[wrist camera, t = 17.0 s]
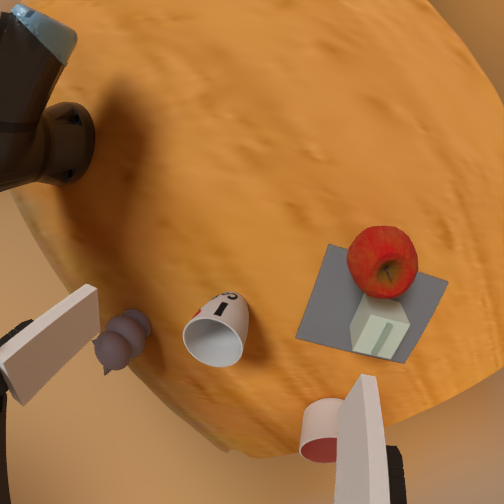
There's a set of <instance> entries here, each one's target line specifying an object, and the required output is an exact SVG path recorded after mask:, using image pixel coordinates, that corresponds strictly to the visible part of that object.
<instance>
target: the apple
mask: <svg viewBox="0 0 504 504" xmlns="http://www.w3.org/2000/svg"><path fill="white" fill-rule="evenodd" d="M347 265H348V268H349V271H350V274H351V276H352V278H353V280H354V282H355V283H356V285H357V286H358V287H359V288H360V289H361V290H362V291H363V292H364V293H365V294H367V295H368V296H371V297H374V298H379V299H390V298H396V297H398V296H400V295H402V294H403V293H405V292H406V291H407V290H408V288H409V287H410V286H411V284H412V283H413V282H414V280H415V277H416V274H417V272H418V257H417V253H416V251H415V248H414V246H413V243H412V242H411V240H410V238H409V237H408V236H407V235H406V234H405V233H404V232H403V231H401V230H399V229H398V228H396V227H392V226H373V227H369V228H367V229H365V230H364V231H362V232H361V233H360V234H359V235H358V236H357V237H356V238H355V240H354V241H353V243H352V244H351V246H350V247H349V250H348V253H347Z"/></svg>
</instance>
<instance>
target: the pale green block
mask: <svg viewBox="0 0 504 504" xmlns="http://www.w3.org/2000/svg"><path fill="white" fill-rule="evenodd" d="M409 326H410V323H409V321H408V318H407V316H406V314H405V312H404V310H403V307H402V305H401V303H400V302H397V301H393V300H390V299H379V298H374V297H371V296H368V295H367V294H365V293H364V295H363V297H362V299H361V302H360V304H359V306H358V308H357V311H356V313H355V315H354V317H353V319H352V322H351V324H350V326H349V327H350V335H351V342H352V350H353V351H356V352H360V353H364V354H369V355H373V356H378V357H382V358H387V359H391V358H392V356H393V354H394V353H395V351H396V349H397V348H398V346H399V344H400V342H401V341H402V339H403V337H404V335H405V334H406V332H407V330H408V328H409Z"/></svg>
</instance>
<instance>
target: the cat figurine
mask: <svg viewBox="0 0 504 504" xmlns="http://www.w3.org/2000/svg"><path fill="white" fill-rule="evenodd" d="M151 331H152V330H151V324H150V321H149V320H148V318H147V317H146V316H145V315H144V314H143V313H141V312H140V311H138V310H135V309H129V310H126V311H125V312H124V313H123V314H122V315H117V316H115V317H113V318H111V319H110V320H109V322H108V323H107V325H106V331H105V332H103V333H101V334H100V335H99V336H98V338H97V339H95V340H93V341H92V342H93V344H94V345H95V354H96V356H97V358H98V360H99V362H100V363H101V364H102V365H103V366H104V375H106V374H107V373H109V372H110V371H111V370H120V369H123V368H125V367H126V366H127V365H128V363H129V361H130V359H131V358H135V357H138V356H139V355H140V354H141V353H142V352H143V350H144V347H145V339H146V338H147V337H148V336H149V335H150V333H151Z"/></svg>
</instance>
